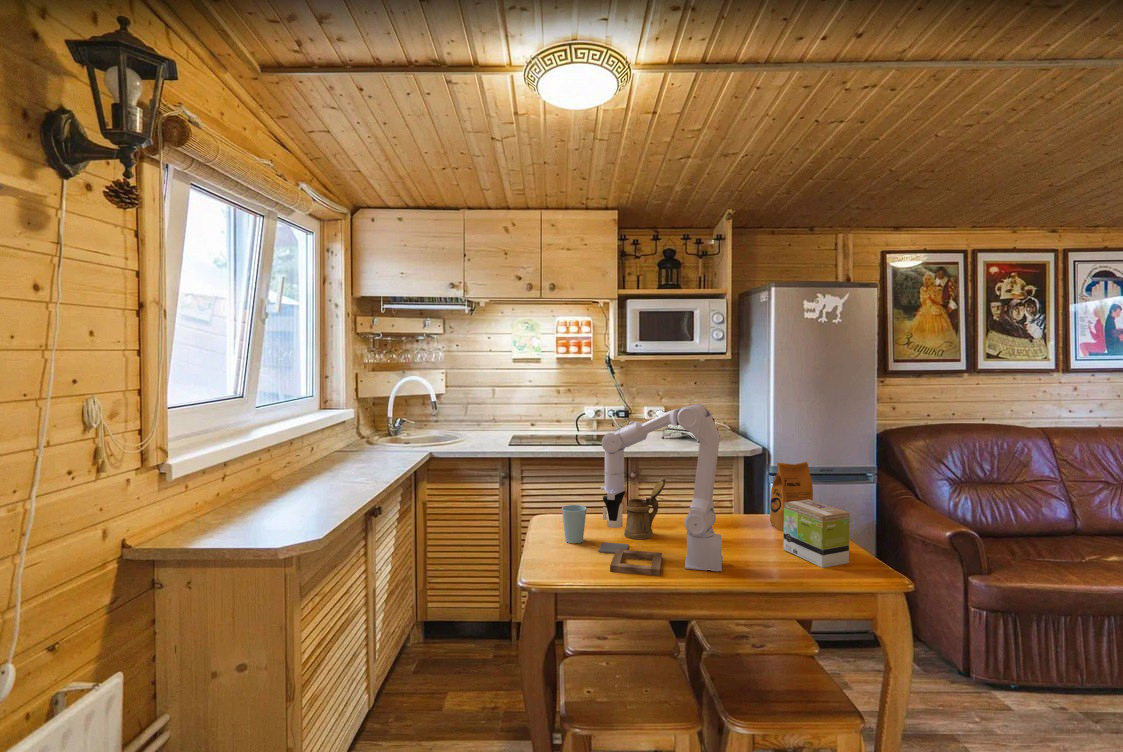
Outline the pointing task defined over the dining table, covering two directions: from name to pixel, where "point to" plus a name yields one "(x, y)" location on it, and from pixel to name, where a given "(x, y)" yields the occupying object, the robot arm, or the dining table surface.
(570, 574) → the dining table surface
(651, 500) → the wooden mug
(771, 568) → the dining table surface
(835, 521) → the tea box
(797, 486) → the coffee package
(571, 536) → the cup
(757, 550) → the dining table surface
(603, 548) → the mat
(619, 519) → the jug
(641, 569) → the jug holder
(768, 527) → the dining table surface
